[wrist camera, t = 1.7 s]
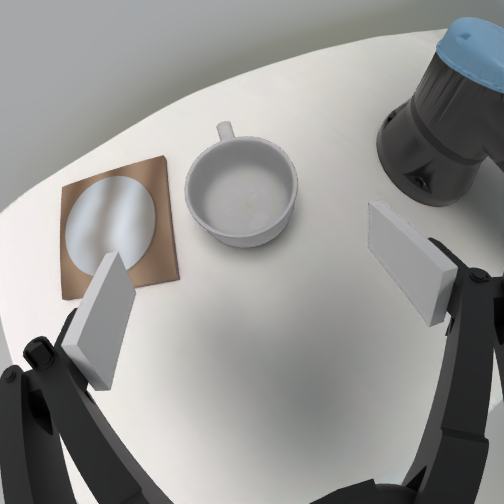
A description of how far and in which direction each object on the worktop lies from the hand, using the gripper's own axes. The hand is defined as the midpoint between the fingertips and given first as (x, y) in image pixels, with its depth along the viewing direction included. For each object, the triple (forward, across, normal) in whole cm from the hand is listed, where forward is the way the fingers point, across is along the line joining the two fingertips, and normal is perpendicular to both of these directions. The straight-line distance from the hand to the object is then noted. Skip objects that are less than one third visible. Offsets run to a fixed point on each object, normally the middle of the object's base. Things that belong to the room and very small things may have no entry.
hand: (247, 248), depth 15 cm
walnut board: (+22, -16, -6) cm, 27 cm away
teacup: (+22, +1, -6) cm, 22 cm away
